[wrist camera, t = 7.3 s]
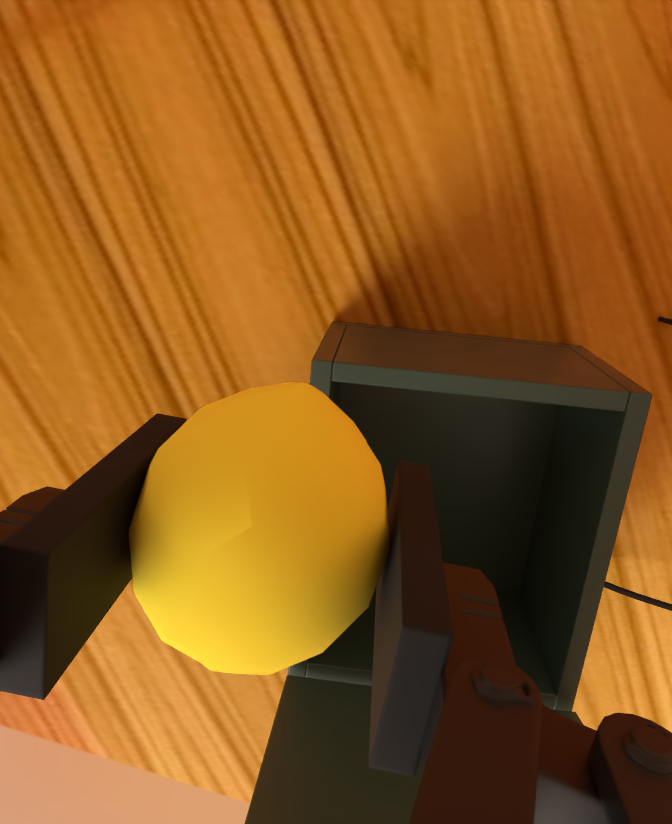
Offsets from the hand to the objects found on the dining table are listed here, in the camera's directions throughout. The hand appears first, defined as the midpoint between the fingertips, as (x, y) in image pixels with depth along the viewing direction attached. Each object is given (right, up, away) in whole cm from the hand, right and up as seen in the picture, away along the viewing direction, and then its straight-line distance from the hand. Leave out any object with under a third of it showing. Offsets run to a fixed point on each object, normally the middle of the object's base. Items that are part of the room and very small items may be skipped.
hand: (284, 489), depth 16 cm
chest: (+7, -1, +18) cm, 19 cm away
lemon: (0, 0, 0) cm, 1 cm away
